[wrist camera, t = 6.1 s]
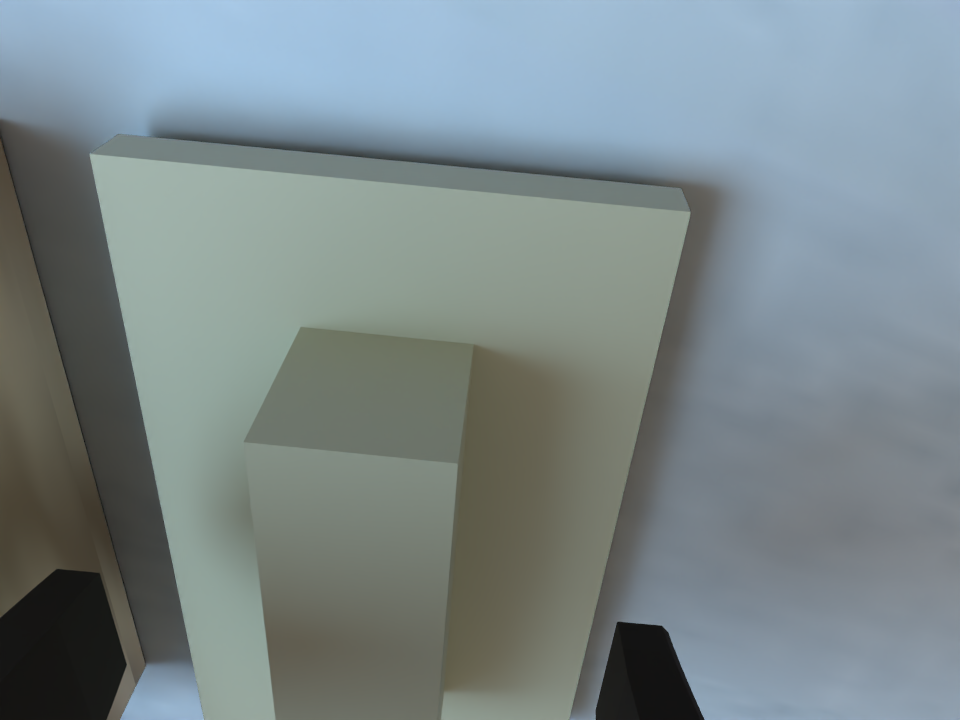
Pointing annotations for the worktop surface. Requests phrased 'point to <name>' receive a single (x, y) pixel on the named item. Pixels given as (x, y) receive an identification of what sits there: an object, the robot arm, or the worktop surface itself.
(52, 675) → the robot arm
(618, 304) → the lid
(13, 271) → the box
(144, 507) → the worktop surface
